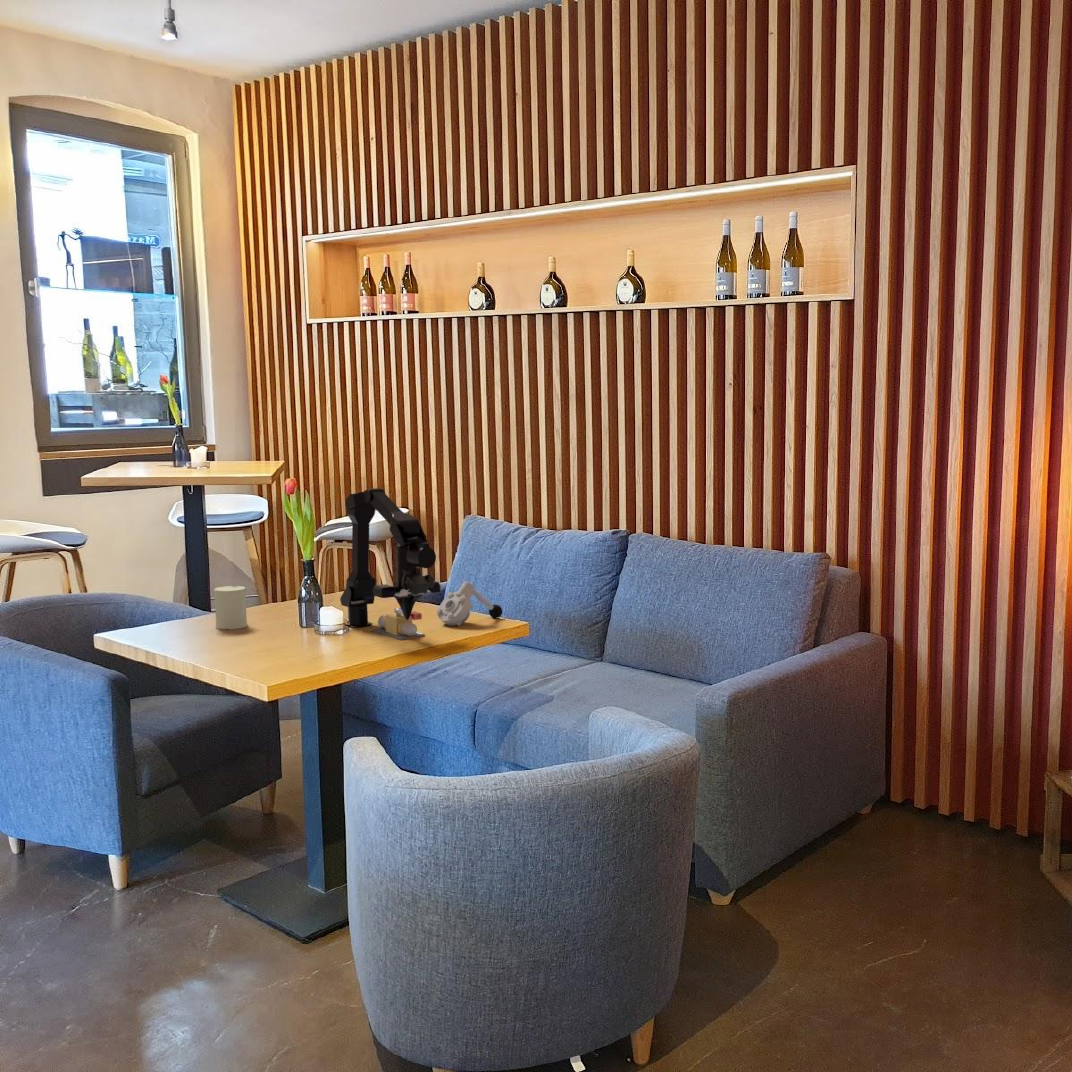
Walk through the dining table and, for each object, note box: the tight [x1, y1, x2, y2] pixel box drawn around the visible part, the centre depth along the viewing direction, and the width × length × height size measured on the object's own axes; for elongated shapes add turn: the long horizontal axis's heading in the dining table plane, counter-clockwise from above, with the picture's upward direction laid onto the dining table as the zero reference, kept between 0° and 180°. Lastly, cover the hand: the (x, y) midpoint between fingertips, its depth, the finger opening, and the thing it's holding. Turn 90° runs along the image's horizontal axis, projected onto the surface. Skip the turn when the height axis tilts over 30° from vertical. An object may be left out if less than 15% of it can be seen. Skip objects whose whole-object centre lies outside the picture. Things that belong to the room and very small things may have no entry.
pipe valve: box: [370, 613, 426, 641], centre depth 323 cm, size 17×8×6 cm, turn 37°
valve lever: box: [393, 607, 423, 621], centre depth 318 cm, size 13×2×2 cm, turn 34°
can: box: [213, 585, 248, 630], centre depth 336 cm, size 9×9×12 cm
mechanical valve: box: [435, 580, 503, 627], centre depth 340 cm, size 10×18×15 cm
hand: (407, 619), depth 313 cm, fingers closed
